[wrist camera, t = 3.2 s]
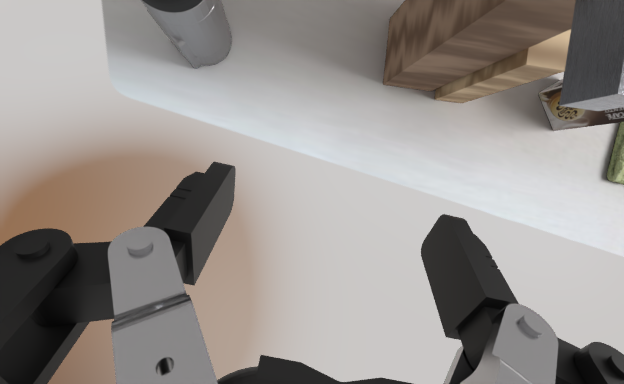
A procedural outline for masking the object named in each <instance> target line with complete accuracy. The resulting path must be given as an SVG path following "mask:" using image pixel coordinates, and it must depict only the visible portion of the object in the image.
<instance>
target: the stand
mask: <svg viewBox="0 0 624 384" xmlns="http://www.w3.org/2000/svg"><path fill="white" fill-rule="evenodd" d="M575 2H576V0H405V1H404V3H403V4H402V5H401V6H400V7H399V8H398V10H397V11H396V12H395V13H394V14H393V16H392V17H391V18H390V21H389V31H388V41H387V50H386V60H385V70H384V79H383V85H390V86H397V87H404V88H412V89H419V90H426V91H432V90H435V89H436V92H435V100H441V101H449V102H456V103H464V102H467V101H471V100H474V99H477V98H480V97H483V96H487V95H490V94H493V93H496V92H499V91H503V90H506V89H509V88H512V87H516V86H519V85H522V84H525V83H528V82H532V81H535V80H538V79H541V78H544V77H548V76H551V75H554V74H557V73H561V72H564V71H565V65H566V59H567V52H568V46H569V40H570V33H571V27H572V21H573V14H574V8H575Z"/></svg>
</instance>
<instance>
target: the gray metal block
mask: <svg viewBox="0 0 624 384" xmlns="http://www.w3.org/2000/svg"><path fill="white" fill-rule="evenodd" d="M559 106H565V107H572V108H579V109H586V110H593V111H602V110H609V109H615V108H621V107H624V0H576V2H575V8H574V14H573V21H572V27H571V33H570V40H569V46H568V52H567V59H566V65H565V71H564V78H563V84H562V90H561V97H560V103H559Z"/></svg>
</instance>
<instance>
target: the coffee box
mask: <svg viewBox="0 0 624 384" xmlns="http://www.w3.org/2000/svg"><path fill="white" fill-rule="evenodd" d="M562 84H563V79H562V80H560V81H558V82H556V83H555V84H553V85H551V86H549V87H548V88H546V89H544V90H543V91H541V92H539V97H540V99H541V102H542V104H543V107H544V109H545V112H546V114H547V116H548V119H549V121H550V124H551V126H552V129H553V131H556V130H564V129H572V128H580V127H587V126H595V125H603V124H610V123H618V122H624V107H621V108H615V109H609V110H602V111H593V110H586V109H579V108H572V107H565V106H559V103H560V97H561V90H562Z"/></svg>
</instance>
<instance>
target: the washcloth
mask: <svg viewBox="0 0 624 384" xmlns="http://www.w3.org/2000/svg"><path fill="white" fill-rule="evenodd" d="M607 177H608V180H610V181H612V182H618V183H621V184H623V185H624V122H620V126H619V129H618V132H617V137H616V141H615V144H614V148H613V152H612V155H611V161H610V165H609V167H608V172H607Z"/></svg>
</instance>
